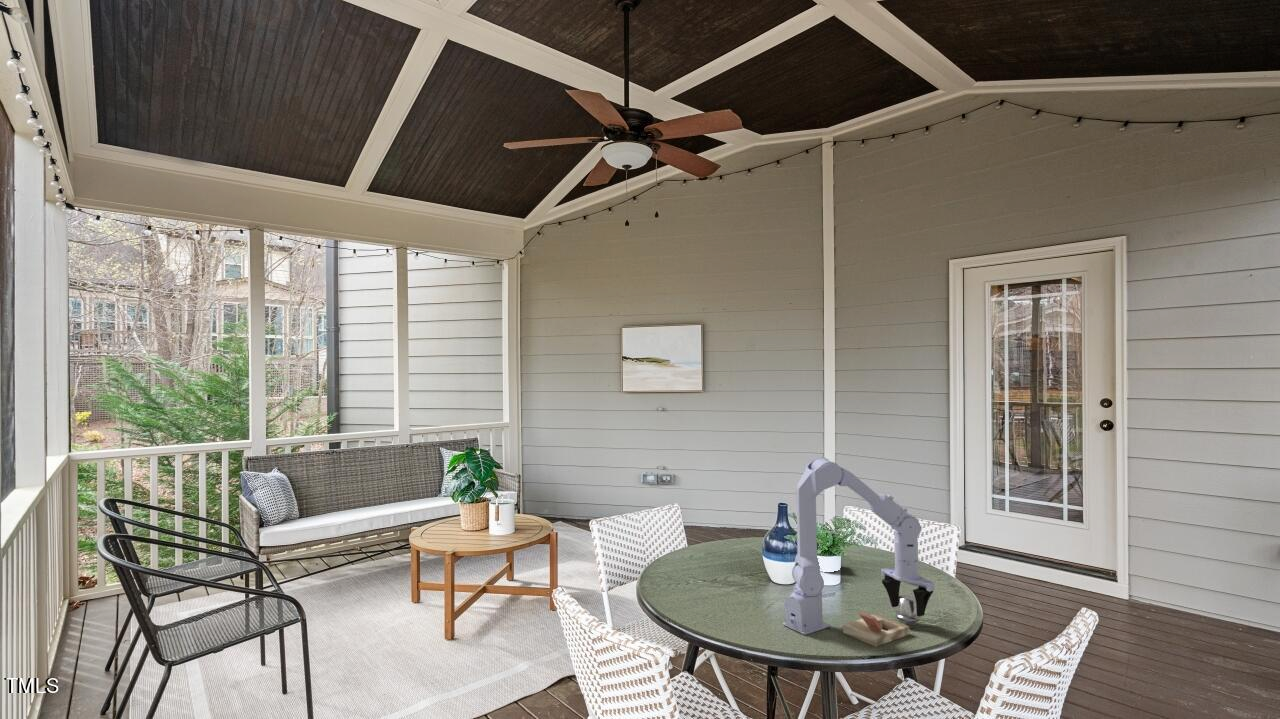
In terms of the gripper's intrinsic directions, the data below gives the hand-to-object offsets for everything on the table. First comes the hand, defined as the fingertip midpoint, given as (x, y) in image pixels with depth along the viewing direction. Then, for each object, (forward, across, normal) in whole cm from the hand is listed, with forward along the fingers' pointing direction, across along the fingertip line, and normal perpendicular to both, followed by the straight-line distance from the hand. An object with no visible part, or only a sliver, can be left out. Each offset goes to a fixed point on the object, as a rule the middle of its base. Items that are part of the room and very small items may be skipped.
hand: (907, 610), depth 166 cm
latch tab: (0, 0, +15) cm, 15 cm away
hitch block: (+4, +1, +12) cm, 12 cm away
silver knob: (+4, 0, 0) cm, 4 cm away
